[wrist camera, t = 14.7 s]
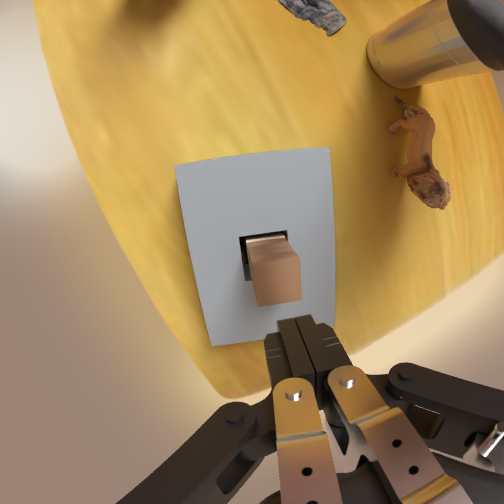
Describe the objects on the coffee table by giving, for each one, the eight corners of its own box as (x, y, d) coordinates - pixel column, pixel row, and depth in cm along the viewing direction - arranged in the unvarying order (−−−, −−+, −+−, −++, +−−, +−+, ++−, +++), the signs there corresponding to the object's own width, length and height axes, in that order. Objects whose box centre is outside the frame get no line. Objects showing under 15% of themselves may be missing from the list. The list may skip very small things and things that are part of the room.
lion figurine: (419, 196, 35) (460, 209, 27) (391, 201, 35) (431, 216, 27) (406, 97, 30) (447, 89, 22) (376, 96, 30) (416, 85, 22)
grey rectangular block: (314, 147, 32) (329, 147, 27) (323, 306, 40) (334, 325, 35) (181, 164, 31) (174, 165, 27) (212, 324, 39) (211, 346, 34)
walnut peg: (275, 224, 35) (300, 258, 24) (278, 255, 36) (302, 300, 25) (242, 228, 35) (252, 265, 23) (246, 259, 36) (257, 307, 25)
